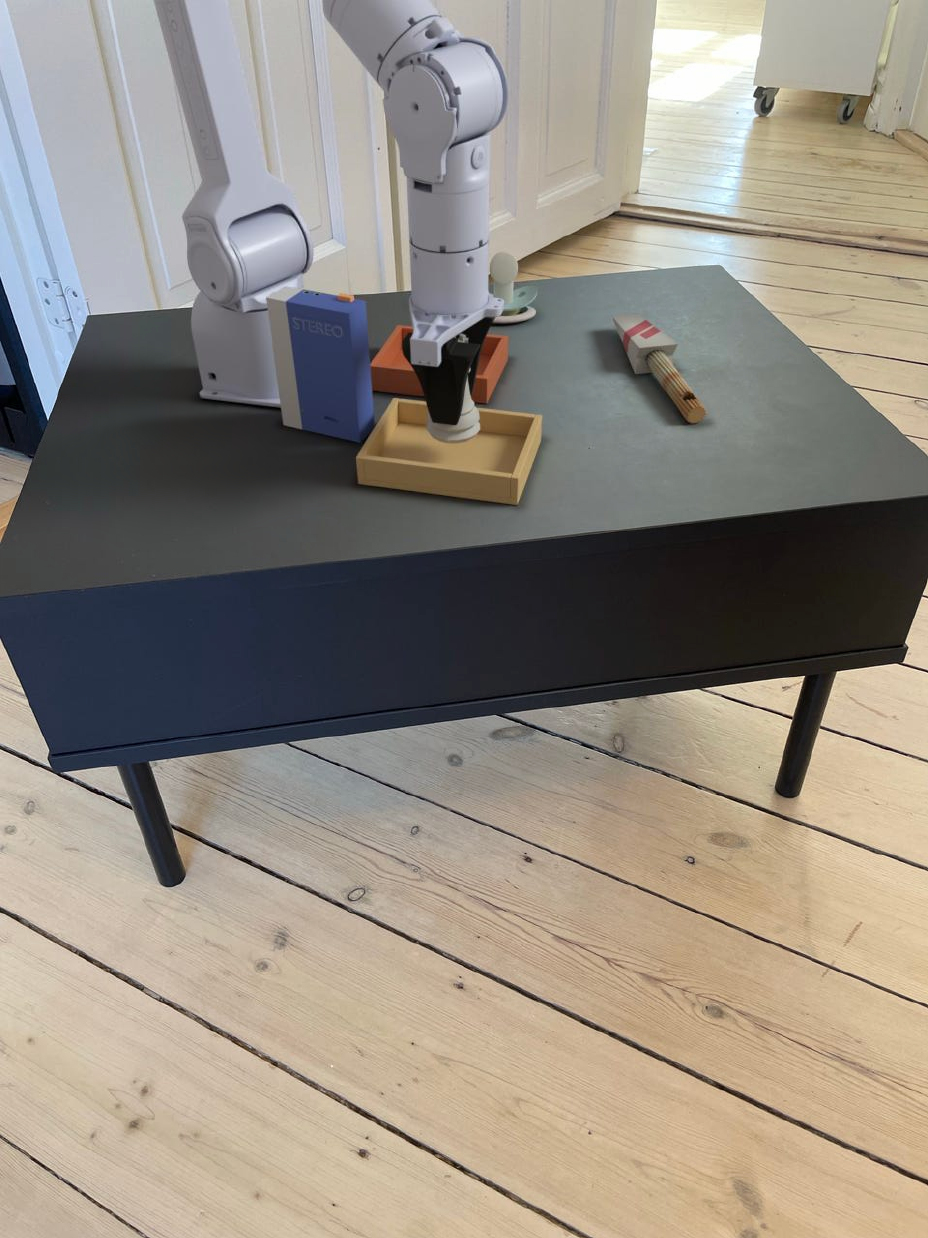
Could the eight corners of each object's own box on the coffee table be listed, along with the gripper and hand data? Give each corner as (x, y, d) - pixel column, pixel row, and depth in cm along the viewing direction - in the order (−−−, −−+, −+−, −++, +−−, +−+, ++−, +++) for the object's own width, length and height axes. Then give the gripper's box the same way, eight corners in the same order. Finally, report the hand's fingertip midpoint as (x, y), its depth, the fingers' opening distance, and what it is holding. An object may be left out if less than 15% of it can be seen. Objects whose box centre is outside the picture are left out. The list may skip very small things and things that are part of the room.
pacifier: (543, 325, 102) (532, 300, 106) (546, 266, 98) (535, 243, 102) (474, 329, 101) (466, 304, 106) (474, 270, 97) (466, 247, 101)
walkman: (375, 428, 86) (365, 295, 78) (359, 443, 84) (348, 308, 76) (299, 410, 88) (282, 280, 80) (282, 424, 86) (263, 292, 78)
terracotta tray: (370, 390, 91) (368, 365, 89) (398, 348, 98) (397, 324, 96) (487, 403, 89) (487, 378, 87) (507, 359, 96) (508, 335, 94)
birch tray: (358, 484, 79) (355, 457, 77) (394, 422, 86) (393, 397, 85) (517, 505, 76) (518, 478, 75) (541, 440, 84) (542, 414, 82)
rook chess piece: (475, 448, 77) (475, 354, 72) (420, 442, 78) (416, 349, 73) (485, 420, 81) (486, 329, 76) (432, 415, 81) (430, 324, 76)
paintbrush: (644, 298, 99) (718, 399, 85) (640, 324, 101) (713, 426, 86) (608, 301, 98) (676, 403, 84) (605, 327, 100) (671, 431, 86)
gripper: (480, 282, 63) (479, 462, 72) (523, 209, 74) (518, 374, 83) (377, 272, 65) (388, 450, 73) (434, 203, 75) (438, 365, 84)
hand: (451, 410), depth 78 cm, fingers closed on rook chess piece, 3 cm apart
